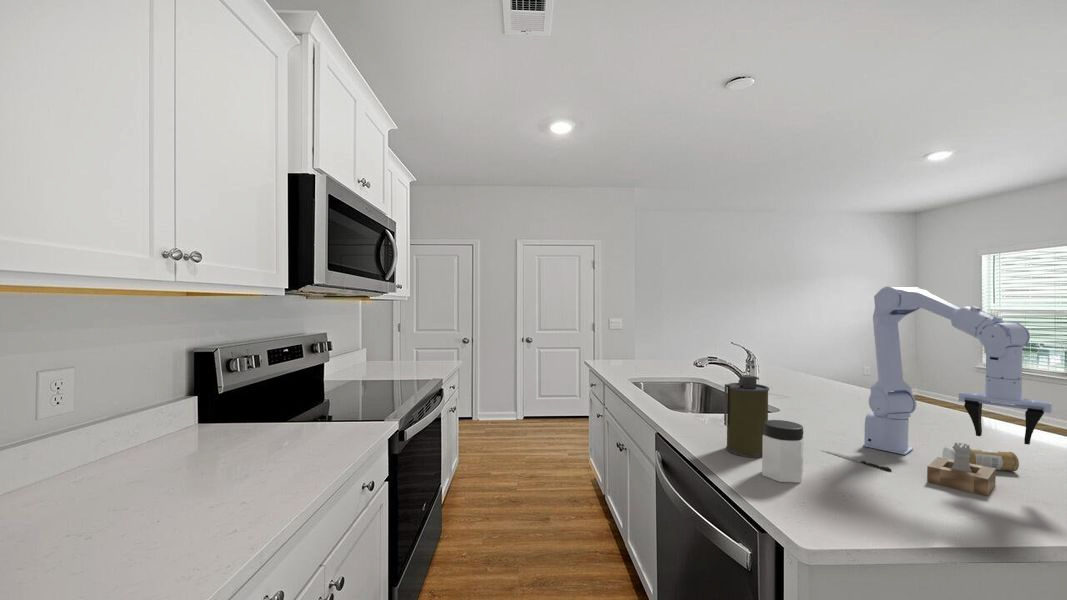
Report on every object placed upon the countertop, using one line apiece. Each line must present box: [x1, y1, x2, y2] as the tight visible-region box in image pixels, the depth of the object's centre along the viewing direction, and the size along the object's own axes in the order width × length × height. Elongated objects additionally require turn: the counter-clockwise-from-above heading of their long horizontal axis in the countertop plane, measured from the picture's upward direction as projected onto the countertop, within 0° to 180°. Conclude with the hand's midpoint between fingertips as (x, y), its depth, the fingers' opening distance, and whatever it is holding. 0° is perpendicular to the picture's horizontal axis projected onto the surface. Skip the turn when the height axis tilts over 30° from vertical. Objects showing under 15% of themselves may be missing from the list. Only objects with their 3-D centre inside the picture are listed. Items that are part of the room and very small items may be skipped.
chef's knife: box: [819, 449, 892, 473], centre depth 124 cm, size 19×1×3 cm
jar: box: [761, 419, 804, 484], centre depth 111 cm, size 9×8×12 cm
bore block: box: [926, 456, 997, 497], centre depth 108 cm, size 10×10×4 cm
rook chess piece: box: [951, 442, 973, 473], centre depth 108 cm, size 4×4×8 cm
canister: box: [723, 375, 770, 459], centre depth 129 cm, size 11×10×20 cm
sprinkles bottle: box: [941, 446, 1020, 472], centre depth 117 cm, size 5×5×14 cm
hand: (1002, 439), depth 106 cm, fingers open, 7 cm apart
